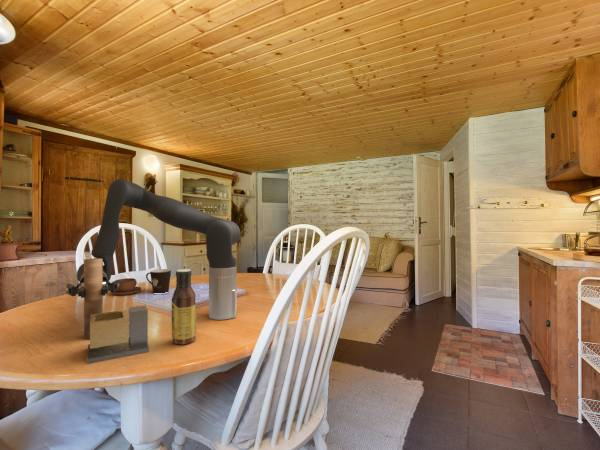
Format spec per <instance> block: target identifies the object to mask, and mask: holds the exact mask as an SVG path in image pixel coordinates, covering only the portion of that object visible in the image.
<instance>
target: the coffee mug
mask: <svg viewBox="0 0 600 450" xmlns="http://www.w3.org/2000/svg"><path fill="white" fill-rule="evenodd" d="M149 274H150V280H151V281H150V280H149V277H148V276H149ZM171 275H172V270H171V269H168V268H161V269H160V268H159V269H152V270H150V271H149V272H147V273H146V275H145V278H146V280H147V282H149V284H150V285H151V287H152V288H151V289H152V294H153V293H165V292H168V293H169V290H170V284H171V283H170V282H171Z"/></svg>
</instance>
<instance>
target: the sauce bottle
mask: <svg viewBox="0 0 600 450" xmlns="http://www.w3.org/2000/svg"><path fill="white" fill-rule="evenodd" d="M191 276H192V269H190V268H181V269H177V270H175V277H176V279H175V281H176V284H175V289H174V292H173V294H172V298H171V337H172V342H173V344H175V345H188V344H191V343H192V342H194V341H196V334H197V311H196V310H197V304H196V292H195V290H194V289H193V288H192V283H191V282H192V281H191V280H192V277H191Z"/></svg>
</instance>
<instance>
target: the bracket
mask: <svg viewBox="0 0 600 450" xmlns="http://www.w3.org/2000/svg"><path fill="white" fill-rule="evenodd" d="M148 311H149V309H148V307H147V306H146V304H145V305H138V306H130V307H128V312H127V310H126V309H123V310H116V311H107V312H103V313H99V314H91V317H90V340H89V344H88V346H87V347H88V348H87V359H86V360H87V361H86V363H87V364H92V363H97V362H103V361H107V360H111V359H117V358H122V357H128V356H133V355H138V354H145V353H148V352H150V347H149V342H148V341H149V339H148V337H149V335H148V334H149V332H148V331H149V325H148V324H149V321H148V320H149V319H148V318H149V313H148Z"/></svg>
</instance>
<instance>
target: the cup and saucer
mask: <svg viewBox="0 0 600 450" xmlns="http://www.w3.org/2000/svg"><path fill="white" fill-rule="evenodd" d="M118 280H119V289H118V290H116V291H115V292H110V293H111V294H112V295H117V296H128V295H133V294H137V293H139V292H140V291H141V290H142V287H140V286H136V285H137V283H138V282H137V279H136V278H133V277H132V278H130V277H129V278H119V279H118Z"/></svg>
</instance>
